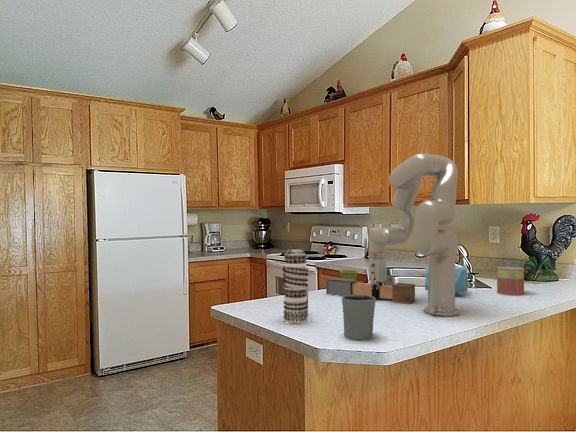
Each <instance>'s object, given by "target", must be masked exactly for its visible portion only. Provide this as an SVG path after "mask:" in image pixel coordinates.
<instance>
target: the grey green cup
mask: <svg viewBox="0 0 576 432" xmlns="http://www.w3.org/2000/svg"><path fill="white" fill-rule="evenodd" d="M376 300H377V298H375V297H373V296H368V295H345V296H341V304H342V313H343V315H342V316H343V334H344V338H346V339H348V340H350V341H351V340H352V341H370V339H373V335H374V332H373V331H374V320H375V307H376Z"/></svg>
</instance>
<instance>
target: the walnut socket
mask: <svg viewBox="0 0 576 432" xmlns="http://www.w3.org/2000/svg"><path fill="white" fill-rule="evenodd" d="M391 286H392V299H391V300H392V303H397V304H405V305H412V304H413V303H414V302H416V284H415V283H406V282H405V283H404V282H403V283H402V282H397V283H395V284H392V285H391Z"/></svg>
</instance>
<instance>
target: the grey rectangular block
mask: <svg viewBox="0 0 576 432" xmlns="http://www.w3.org/2000/svg"><path fill="white" fill-rule="evenodd" d="M357 281H358V280H357V278H356V279H347V278H342V277H335V276H334V277H332V276H331V277H329V278H326V284H325V285H326V291H325V293H326V294H332V295H331V296H333V295H339V296H338V297H342V296H345V295H351V283H352V282H357ZM357 283H358V282H357ZM326 294H325V295H326Z"/></svg>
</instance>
